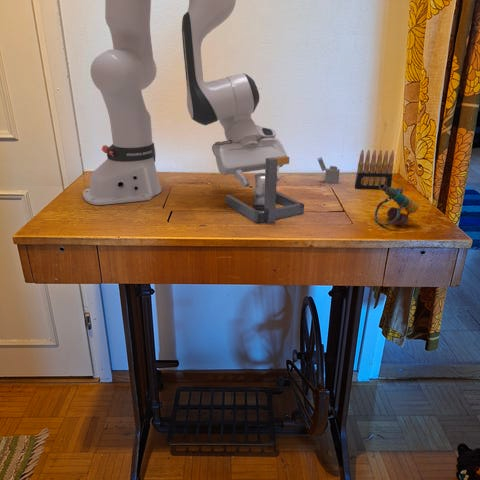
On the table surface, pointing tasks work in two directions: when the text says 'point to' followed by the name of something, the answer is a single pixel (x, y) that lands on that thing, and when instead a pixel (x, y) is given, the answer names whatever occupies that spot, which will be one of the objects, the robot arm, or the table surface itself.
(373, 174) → the ammunition clip
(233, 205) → the grey metal bar frame
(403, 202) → the binoculars
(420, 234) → the table surface
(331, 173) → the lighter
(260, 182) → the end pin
